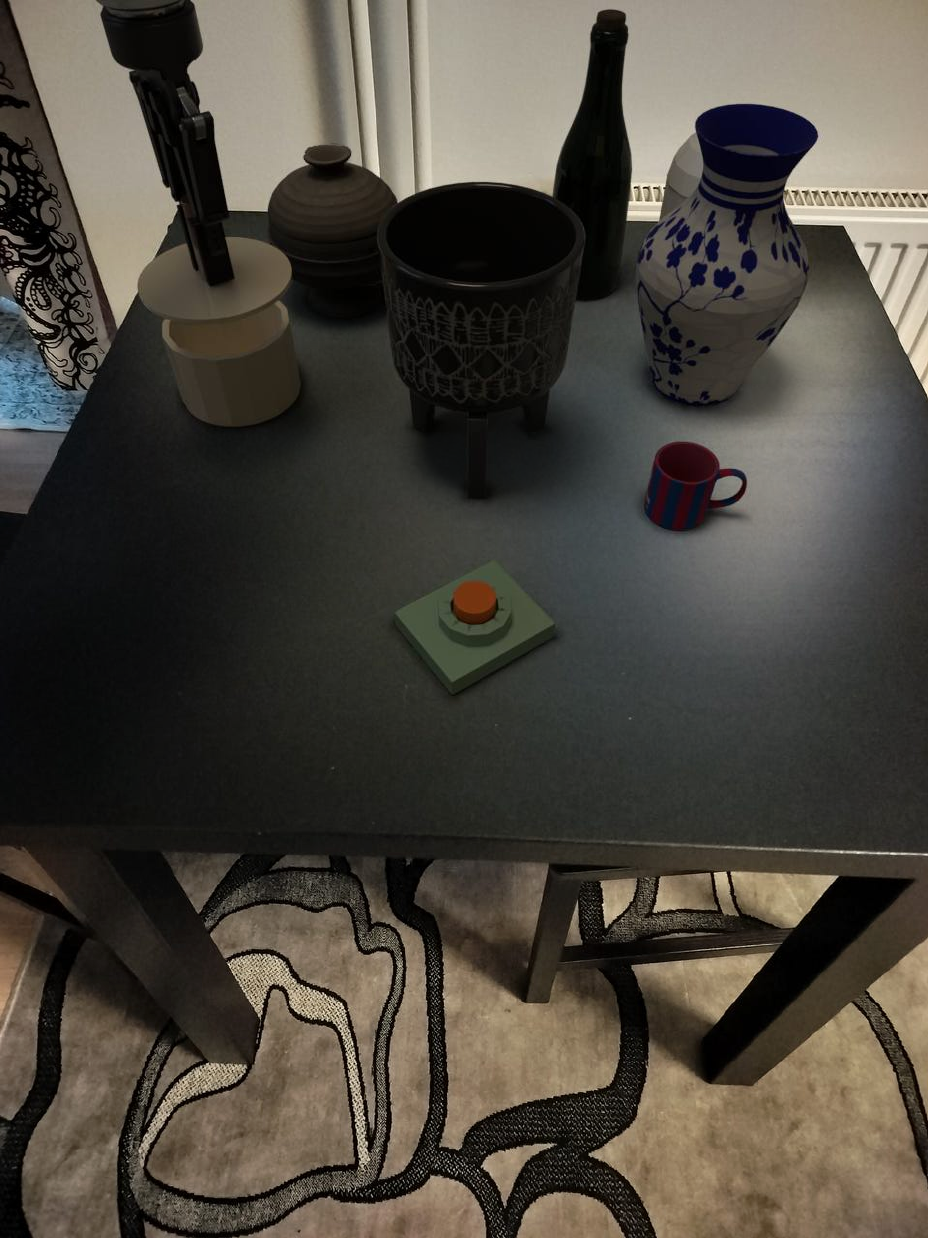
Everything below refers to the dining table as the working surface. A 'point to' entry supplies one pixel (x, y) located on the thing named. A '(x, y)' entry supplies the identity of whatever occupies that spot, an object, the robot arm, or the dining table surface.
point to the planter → (480, 302)
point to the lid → (192, 301)
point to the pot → (331, 229)
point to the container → (682, 175)
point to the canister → (235, 367)
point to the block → (474, 629)
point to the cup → (686, 485)
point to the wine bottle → (599, 158)
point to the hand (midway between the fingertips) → (213, 272)
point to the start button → (474, 602)
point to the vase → (725, 257)
